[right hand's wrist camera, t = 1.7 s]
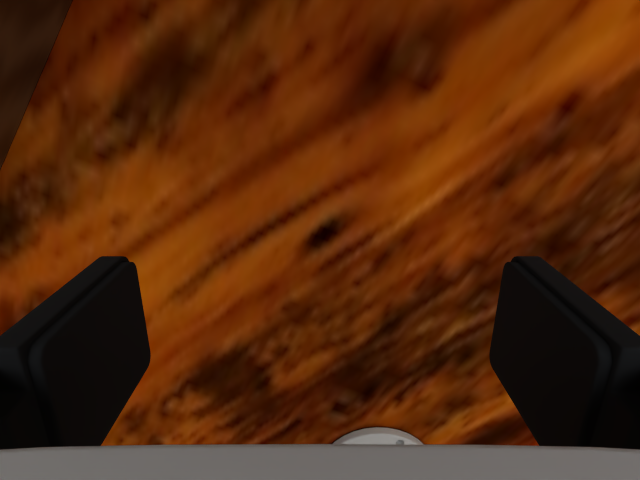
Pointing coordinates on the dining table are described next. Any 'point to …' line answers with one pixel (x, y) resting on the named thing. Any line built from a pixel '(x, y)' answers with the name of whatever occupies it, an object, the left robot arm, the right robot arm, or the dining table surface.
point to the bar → (24, 56)
